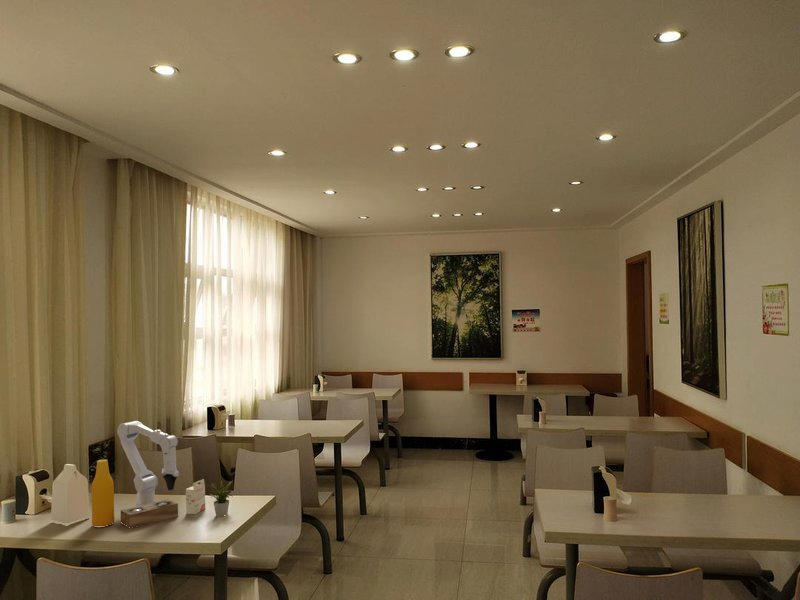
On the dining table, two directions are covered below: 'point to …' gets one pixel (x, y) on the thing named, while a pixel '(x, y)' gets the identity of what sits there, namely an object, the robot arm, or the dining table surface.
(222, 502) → the house plant
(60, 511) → the milk
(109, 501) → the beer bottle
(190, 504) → the ink cartridge box
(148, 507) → the walnut block
